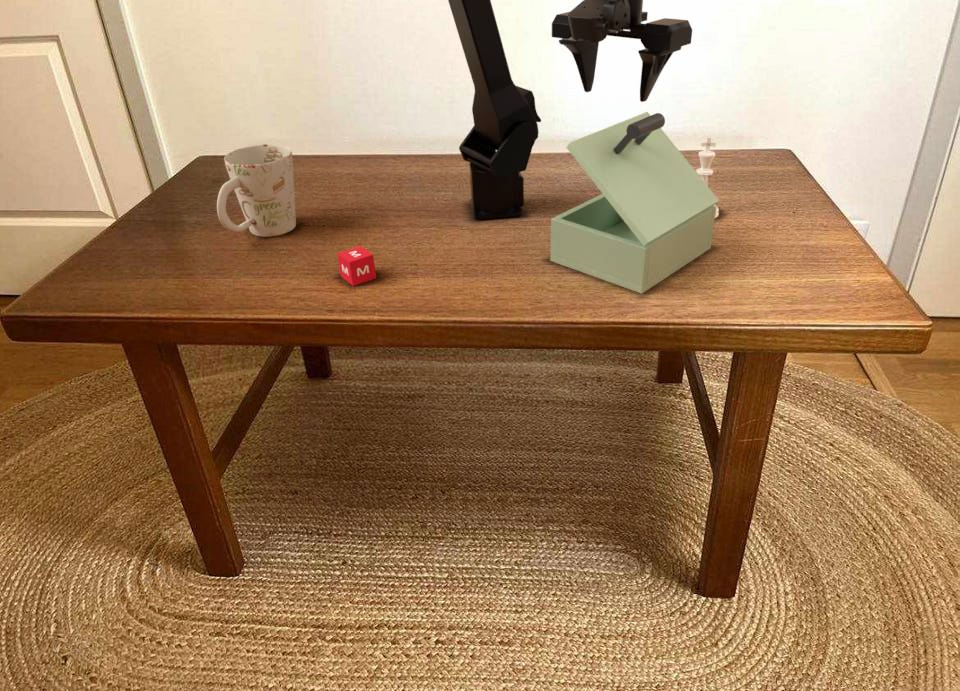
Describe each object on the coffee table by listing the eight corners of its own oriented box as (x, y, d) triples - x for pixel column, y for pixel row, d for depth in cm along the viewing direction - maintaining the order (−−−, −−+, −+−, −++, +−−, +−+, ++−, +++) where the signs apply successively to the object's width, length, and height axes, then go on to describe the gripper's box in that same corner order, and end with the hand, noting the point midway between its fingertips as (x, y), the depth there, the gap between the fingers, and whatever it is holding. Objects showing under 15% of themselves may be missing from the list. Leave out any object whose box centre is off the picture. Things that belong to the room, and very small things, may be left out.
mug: (317, 220, 98) (304, 147, 93) (256, 258, 89) (238, 180, 83) (268, 212, 101) (253, 141, 96) (205, 248, 92) (184, 172, 86)
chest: (550, 261, 85) (550, 218, 82) (621, 222, 94) (624, 182, 91) (641, 293, 77) (645, 248, 75) (710, 248, 86) (716, 206, 83)
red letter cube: (376, 278, 83) (373, 254, 81) (353, 286, 82) (349, 262, 80) (363, 269, 85) (360, 245, 83) (340, 277, 84) (337, 253, 82)
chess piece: (720, 221, 93) (731, 143, 87) (680, 219, 93) (689, 143, 88) (717, 206, 97) (727, 131, 91) (679, 205, 97) (687, 131, 92)
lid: (565, 147, 76) (591, 114, 72) (643, 116, 85) (670, 85, 81) (643, 246, 75) (674, 219, 71) (714, 204, 83) (745, 177, 79)
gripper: (524, -27, 93) (525, 98, 101) (650, -20, 82) (639, 120, 90) (578, -35, 99) (574, 83, 108) (701, -30, 88) (686, 101, 97)
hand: (614, 96), depth 100 cm, fingers open, 9 cm apart
